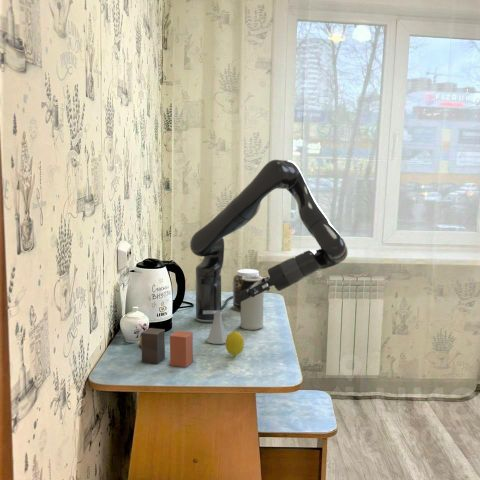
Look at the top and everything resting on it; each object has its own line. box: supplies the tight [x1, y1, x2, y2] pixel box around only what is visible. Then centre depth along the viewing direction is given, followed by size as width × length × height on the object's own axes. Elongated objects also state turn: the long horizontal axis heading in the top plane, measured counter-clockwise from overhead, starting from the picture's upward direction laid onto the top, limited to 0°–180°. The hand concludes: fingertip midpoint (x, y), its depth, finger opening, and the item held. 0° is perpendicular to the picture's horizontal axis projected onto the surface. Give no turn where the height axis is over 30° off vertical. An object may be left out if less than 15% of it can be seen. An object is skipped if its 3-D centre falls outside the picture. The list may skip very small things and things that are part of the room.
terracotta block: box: [169, 330, 194, 368], centre depth 175 cm, size 5×5×9 cm
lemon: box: [225, 330, 245, 357], centre depth 182 cm, size 6×6×8 cm
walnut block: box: [140, 327, 166, 365], centre depth 177 cm, size 5×5×9 cm
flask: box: [206, 310, 228, 345], centre depth 195 cm, size 7×7×10 cm
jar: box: [232, 268, 263, 312], centre depth 235 cm, size 12×12×15 cm
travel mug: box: [240, 275, 265, 331], centre depth 211 cm, size 8×8×18 cm
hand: (239, 297), depth 181 cm, fingers open, 8 cm apart
